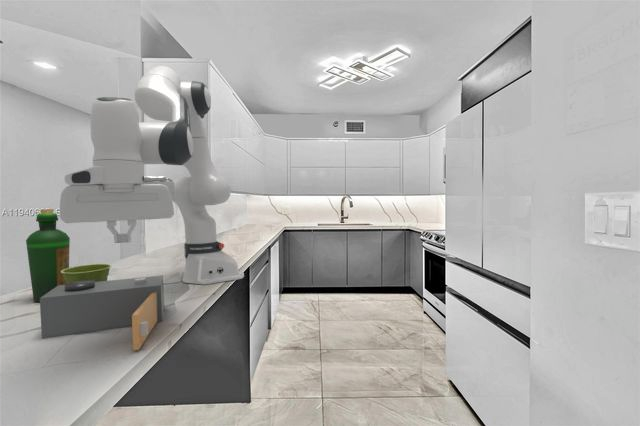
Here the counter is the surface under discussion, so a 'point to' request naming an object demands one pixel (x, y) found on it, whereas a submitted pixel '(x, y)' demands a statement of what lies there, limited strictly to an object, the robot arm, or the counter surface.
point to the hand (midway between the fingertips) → (123, 242)
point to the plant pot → (87, 273)
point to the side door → (144, 320)
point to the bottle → (47, 254)
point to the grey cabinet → (96, 304)
